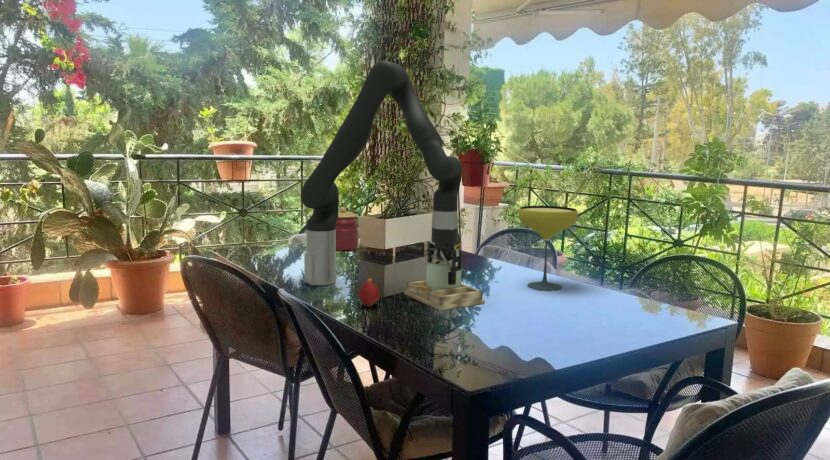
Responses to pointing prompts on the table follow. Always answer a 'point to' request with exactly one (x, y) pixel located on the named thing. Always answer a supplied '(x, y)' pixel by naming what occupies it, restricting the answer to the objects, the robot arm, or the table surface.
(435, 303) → the rack
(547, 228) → the cocktail glass
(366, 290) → the onion
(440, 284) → the block
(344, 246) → the canister
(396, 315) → the table surface
